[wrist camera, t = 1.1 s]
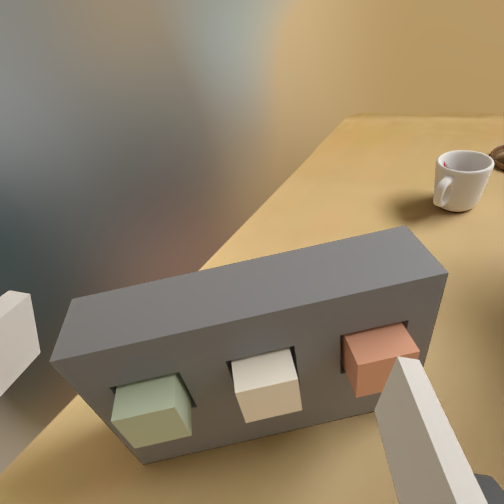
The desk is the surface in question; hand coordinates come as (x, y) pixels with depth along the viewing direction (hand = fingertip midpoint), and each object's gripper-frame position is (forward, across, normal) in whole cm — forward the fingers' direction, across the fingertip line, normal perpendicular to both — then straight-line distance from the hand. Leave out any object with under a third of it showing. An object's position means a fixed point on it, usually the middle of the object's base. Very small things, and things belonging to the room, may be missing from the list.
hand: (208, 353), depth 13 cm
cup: (+50, +32, -6) cm, 59 cm away
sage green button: (+10, -5, -17) cm, 20 cm away
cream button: (+12, +4, -14) cm, 19 cm away
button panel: (+16, +6, -22) cm, 28 cm away
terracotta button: (+14, +12, -11) cm, 22 cm away
